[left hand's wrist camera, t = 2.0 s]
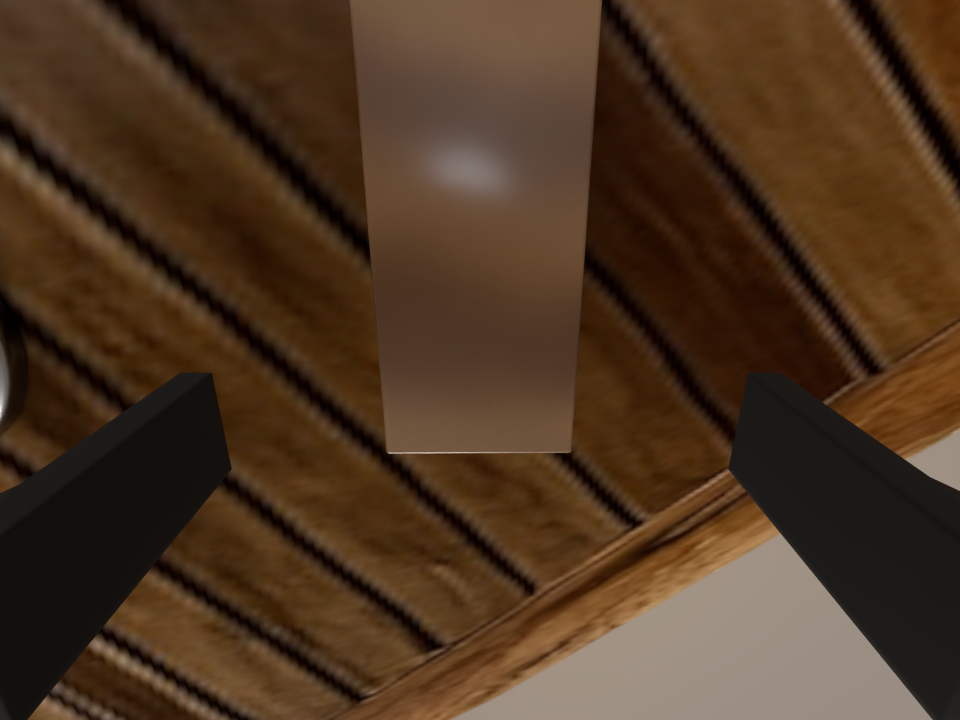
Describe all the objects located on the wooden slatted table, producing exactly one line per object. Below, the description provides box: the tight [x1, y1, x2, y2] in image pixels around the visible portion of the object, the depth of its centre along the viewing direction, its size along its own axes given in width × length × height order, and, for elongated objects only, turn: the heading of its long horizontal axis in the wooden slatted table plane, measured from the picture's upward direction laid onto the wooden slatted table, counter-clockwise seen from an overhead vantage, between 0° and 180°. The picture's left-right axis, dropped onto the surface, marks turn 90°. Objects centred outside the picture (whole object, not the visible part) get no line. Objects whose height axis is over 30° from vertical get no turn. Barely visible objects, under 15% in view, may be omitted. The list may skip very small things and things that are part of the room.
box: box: [349, 0, 602, 453], centre depth 19 cm, size 21×6×13 cm, turn 0°
